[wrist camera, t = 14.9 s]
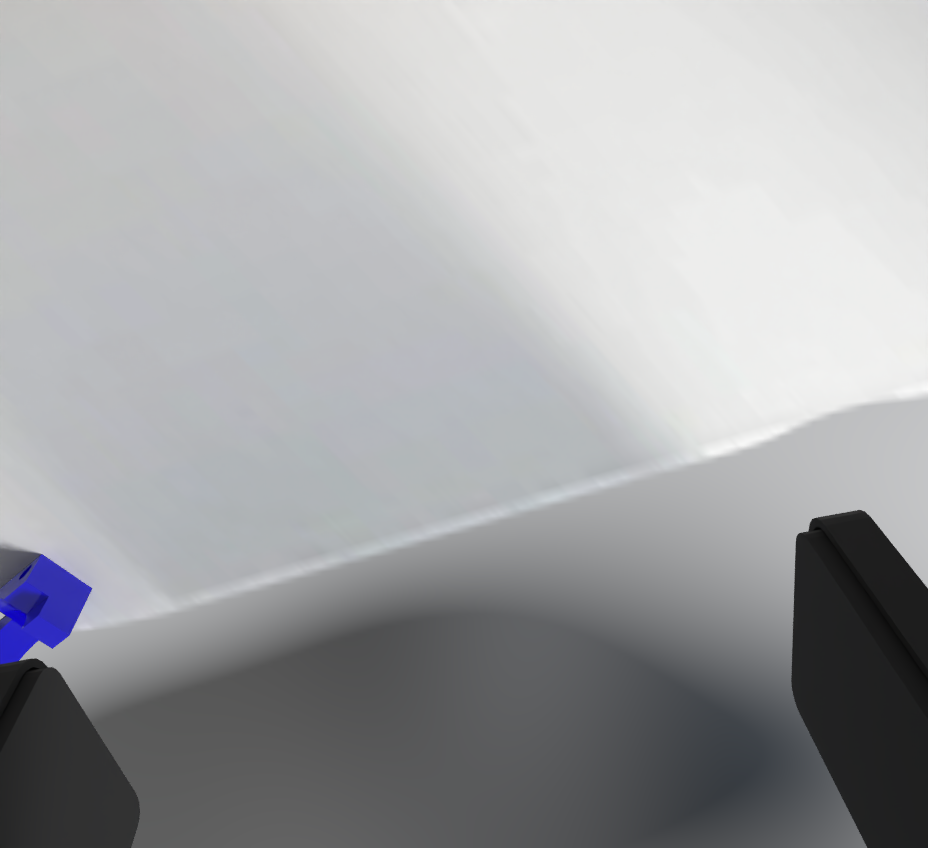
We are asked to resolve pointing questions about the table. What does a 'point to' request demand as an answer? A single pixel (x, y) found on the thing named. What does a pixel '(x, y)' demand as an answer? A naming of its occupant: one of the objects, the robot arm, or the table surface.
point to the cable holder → (39, 608)
